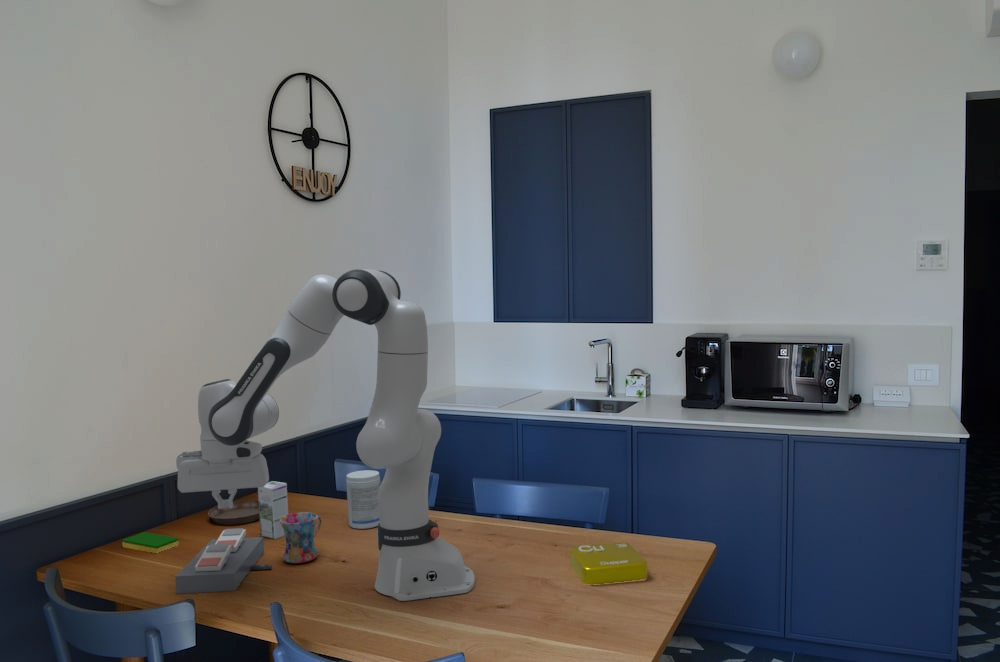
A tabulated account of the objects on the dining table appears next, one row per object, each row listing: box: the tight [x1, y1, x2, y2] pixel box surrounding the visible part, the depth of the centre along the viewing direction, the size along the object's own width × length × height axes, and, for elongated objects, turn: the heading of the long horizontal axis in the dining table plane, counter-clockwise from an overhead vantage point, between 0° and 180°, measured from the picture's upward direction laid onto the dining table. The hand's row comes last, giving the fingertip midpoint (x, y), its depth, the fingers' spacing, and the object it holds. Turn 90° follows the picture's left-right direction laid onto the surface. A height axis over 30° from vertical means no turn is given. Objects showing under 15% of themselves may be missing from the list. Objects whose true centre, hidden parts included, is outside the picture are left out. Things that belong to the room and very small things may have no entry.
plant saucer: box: [207, 499, 260, 526], centre depth 226 cm, size 18×18×3 cm
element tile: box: [569, 542, 648, 585], centre depth 174 cm, size 15×15×5 cm
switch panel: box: [175, 536, 273, 595], centre depth 182 cm, size 18×25×4 cm
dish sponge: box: [121, 531, 180, 554], centre depth 203 cm, size 7×14×2 cm, turn 62°
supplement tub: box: [345, 469, 382, 530], centre depth 215 cm, size 10×10×15 cm
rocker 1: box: [195, 544, 232, 572], centre depth 176 cm, size 6×9×2 cm, turn 3°
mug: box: [279, 511, 322, 564], centre depth 190 cm, size 12×9×11 cm
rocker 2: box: [215, 527, 247, 552], centre depth 188 cm, size 6×9×2 cm, turn 3°
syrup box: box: [257, 480, 289, 540], centre depth 208 cm, size 6×6×14 cm
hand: (225, 508), depth 177 cm, fingers closed
